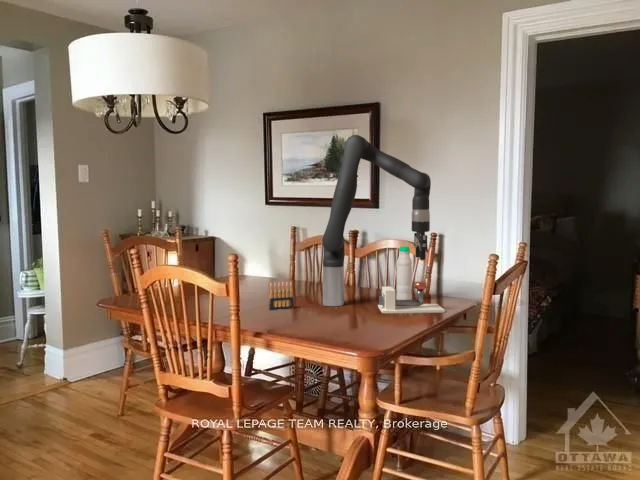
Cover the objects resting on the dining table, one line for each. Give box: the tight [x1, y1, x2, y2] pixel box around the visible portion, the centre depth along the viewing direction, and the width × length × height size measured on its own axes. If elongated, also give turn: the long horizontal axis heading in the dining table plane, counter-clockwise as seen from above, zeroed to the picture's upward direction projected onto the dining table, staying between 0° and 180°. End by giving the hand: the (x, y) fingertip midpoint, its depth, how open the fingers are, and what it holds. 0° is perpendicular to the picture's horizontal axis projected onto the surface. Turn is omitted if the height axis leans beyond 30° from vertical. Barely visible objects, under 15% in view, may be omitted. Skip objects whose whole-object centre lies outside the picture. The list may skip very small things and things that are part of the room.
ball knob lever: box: [378, 281, 427, 307], centre depth 242 cm, size 20×5×10 cm, turn 93°
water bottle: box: [395, 245, 413, 300], centre depth 262 cm, size 7×7×25 cm
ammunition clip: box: [268, 280, 295, 311], centre depth 245 cm, size 11×2×12 cm, turn 109°
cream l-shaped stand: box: [377, 286, 446, 314], centre depth 243 cm, size 26×13×9 cm, turn 93°
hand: (420, 258), depth 241 cm, fingers open, 8 cm apart
